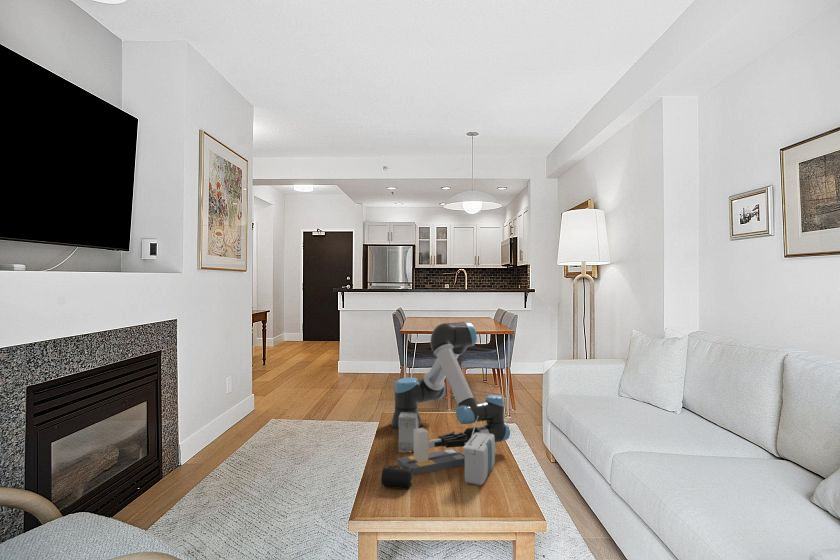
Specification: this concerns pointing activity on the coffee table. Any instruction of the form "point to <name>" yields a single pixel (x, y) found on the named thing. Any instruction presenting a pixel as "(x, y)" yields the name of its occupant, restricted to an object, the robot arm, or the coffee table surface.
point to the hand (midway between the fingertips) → (426, 444)
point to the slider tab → (420, 445)
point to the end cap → (397, 477)
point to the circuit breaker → (407, 431)
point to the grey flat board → (433, 461)
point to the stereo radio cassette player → (479, 457)
